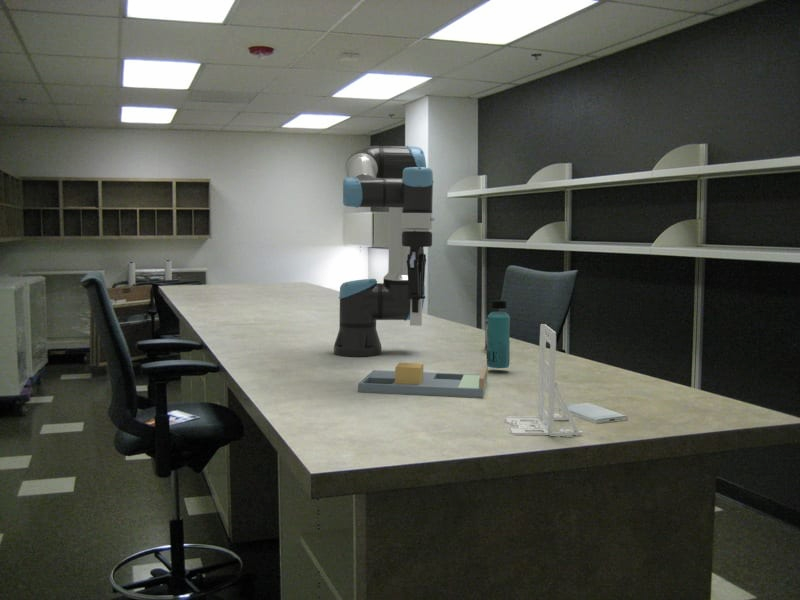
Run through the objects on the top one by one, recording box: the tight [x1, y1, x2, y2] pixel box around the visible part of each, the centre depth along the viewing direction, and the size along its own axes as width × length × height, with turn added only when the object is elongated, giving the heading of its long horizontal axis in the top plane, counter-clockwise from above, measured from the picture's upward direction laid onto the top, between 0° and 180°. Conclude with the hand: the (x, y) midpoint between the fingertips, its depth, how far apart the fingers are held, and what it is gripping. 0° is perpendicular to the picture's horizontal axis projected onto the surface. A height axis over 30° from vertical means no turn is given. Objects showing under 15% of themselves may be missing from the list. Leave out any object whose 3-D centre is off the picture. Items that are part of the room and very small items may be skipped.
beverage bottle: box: [486, 299, 511, 369], centre depth 207 cm, size 6×7×20 cm
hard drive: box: [558, 402, 629, 424], centre depth 160 cm, size 2×8×12 cm
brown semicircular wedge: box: [484, 318, 488, 353], centre depth 242 cm, size 12×6×10 cm, turn 179°
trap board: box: [357, 364, 489, 399], centre depth 186 cm, size 30×18×4 cm, turn 80°
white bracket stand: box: [503, 323, 583, 438], centre depth 148 cm, size 14×14×20 cm
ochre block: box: [394, 362, 424, 384], centre depth 183 cm, size 6×6×4 cm
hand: (415, 325), depth 187 cm, fingers closed
